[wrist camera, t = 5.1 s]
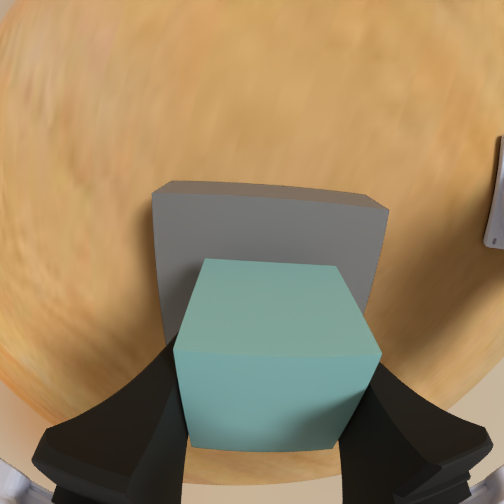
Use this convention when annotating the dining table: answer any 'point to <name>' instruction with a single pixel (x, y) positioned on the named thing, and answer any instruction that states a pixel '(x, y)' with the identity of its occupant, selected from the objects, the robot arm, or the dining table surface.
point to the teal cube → (271, 357)
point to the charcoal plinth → (260, 234)
